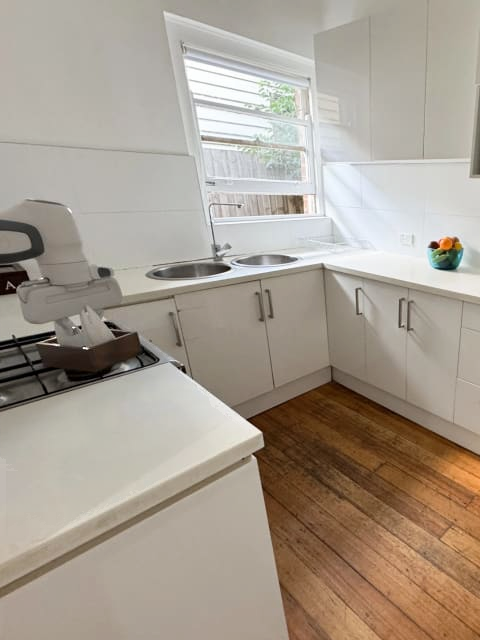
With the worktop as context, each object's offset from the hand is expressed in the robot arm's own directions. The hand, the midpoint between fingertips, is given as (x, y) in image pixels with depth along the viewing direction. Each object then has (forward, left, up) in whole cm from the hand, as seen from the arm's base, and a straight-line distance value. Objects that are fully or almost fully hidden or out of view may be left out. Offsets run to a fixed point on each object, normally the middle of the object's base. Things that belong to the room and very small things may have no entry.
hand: (85, 330), depth 92 cm
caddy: (0, 0, -8) cm, 8 cm away
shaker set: (0, 0, -5) cm, 5 cm away
